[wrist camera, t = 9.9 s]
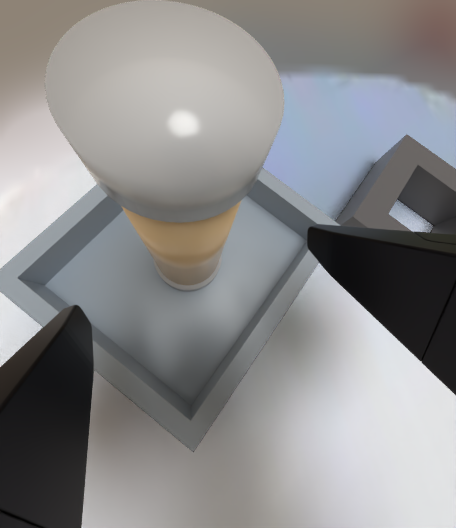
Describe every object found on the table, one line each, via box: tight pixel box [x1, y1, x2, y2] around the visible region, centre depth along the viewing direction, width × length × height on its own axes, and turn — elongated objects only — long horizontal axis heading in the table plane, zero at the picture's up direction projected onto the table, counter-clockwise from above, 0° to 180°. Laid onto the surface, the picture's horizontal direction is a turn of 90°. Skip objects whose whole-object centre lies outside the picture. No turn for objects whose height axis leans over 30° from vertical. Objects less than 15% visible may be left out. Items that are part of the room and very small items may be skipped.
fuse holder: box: [336, 135, 456, 234], centre depth 20 cm, size 10×10×4 cm
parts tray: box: [0, 167, 341, 452], centre depth 16 cm, size 16×14×4 cm
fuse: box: [45, 0, 284, 292], centre depth 11 cm, size 4×4×13 cm
